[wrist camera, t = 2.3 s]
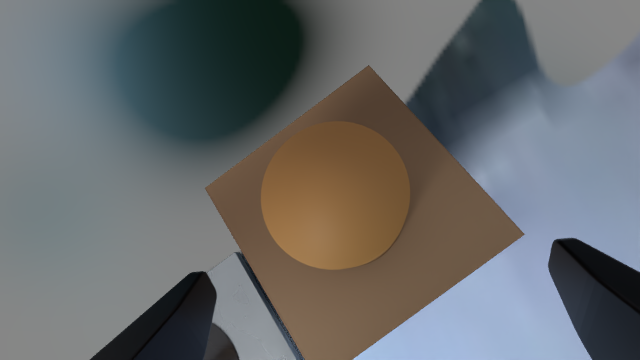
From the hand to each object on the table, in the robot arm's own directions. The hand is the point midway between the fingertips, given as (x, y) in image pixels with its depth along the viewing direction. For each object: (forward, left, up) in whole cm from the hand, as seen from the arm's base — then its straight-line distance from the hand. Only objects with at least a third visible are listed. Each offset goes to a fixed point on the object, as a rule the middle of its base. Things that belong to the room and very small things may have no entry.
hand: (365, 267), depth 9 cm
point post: (+1, -1, -9) cm, 9 cm away
